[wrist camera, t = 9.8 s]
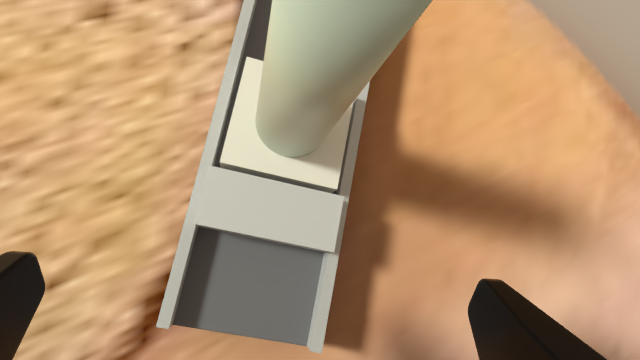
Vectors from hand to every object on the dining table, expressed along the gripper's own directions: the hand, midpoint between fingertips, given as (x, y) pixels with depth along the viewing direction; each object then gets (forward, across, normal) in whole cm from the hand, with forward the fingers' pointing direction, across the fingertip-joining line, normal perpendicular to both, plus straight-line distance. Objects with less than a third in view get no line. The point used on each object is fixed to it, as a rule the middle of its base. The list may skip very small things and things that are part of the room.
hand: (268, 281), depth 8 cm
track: (+13, 0, +2) cm, 14 cm away
